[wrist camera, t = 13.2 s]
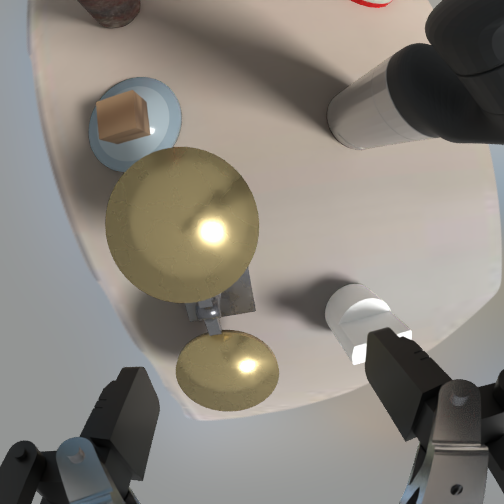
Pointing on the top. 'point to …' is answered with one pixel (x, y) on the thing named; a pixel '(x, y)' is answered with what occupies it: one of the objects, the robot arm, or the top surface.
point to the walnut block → (122, 118)
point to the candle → (112, 11)
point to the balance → (196, 265)
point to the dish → (160, 121)
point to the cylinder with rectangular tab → (360, 319)
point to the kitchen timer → (373, 3)
